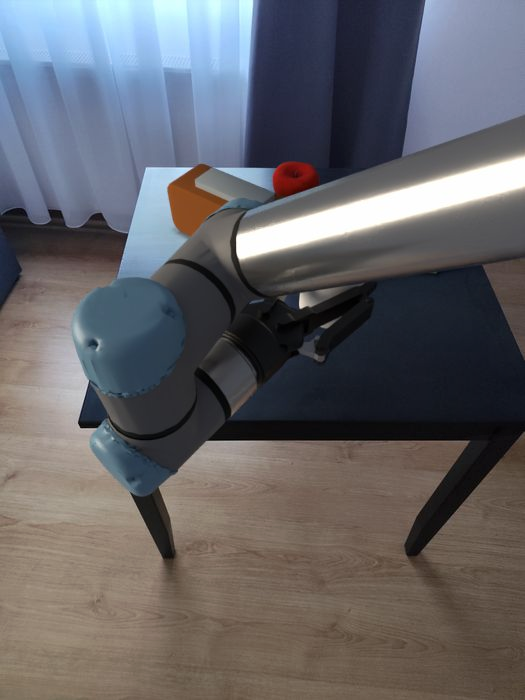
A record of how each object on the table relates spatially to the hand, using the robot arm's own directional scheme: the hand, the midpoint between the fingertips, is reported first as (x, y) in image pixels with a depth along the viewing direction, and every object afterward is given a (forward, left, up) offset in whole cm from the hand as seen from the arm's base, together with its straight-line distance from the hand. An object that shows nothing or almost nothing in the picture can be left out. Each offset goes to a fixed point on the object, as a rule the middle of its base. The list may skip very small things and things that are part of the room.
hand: (358, 249), depth 59 cm
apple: (+34, +9, -18) cm, 39 cm away
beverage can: (-4, +3, -7) cm, 8 cm away
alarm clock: (+22, +19, -18) cm, 34 cm away
